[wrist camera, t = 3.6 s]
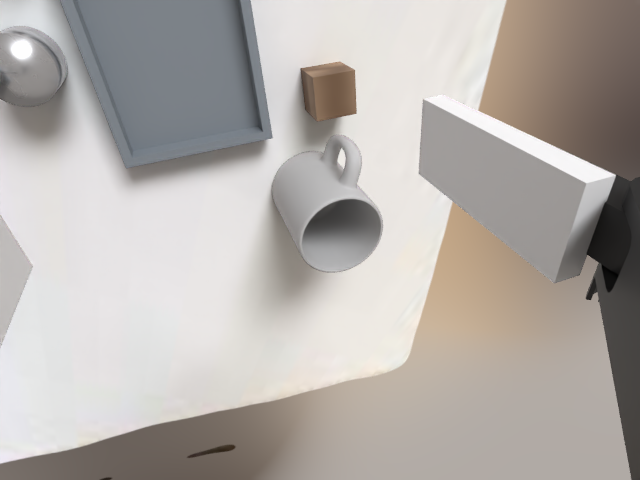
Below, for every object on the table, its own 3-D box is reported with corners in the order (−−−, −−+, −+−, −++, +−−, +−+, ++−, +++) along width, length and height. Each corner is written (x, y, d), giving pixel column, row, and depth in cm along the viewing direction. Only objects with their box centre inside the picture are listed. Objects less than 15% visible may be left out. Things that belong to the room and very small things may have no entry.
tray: (127, 158, 39) (126, 168, 37) (44, -57, 30) (37, -58, 28) (267, 130, 42) (272, 138, 40) (233, -75, 32) (237, -77, 31)
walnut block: (305, 109, 42) (317, 121, 39) (300, 68, 40) (312, 77, 37) (341, 102, 43) (356, 113, 40) (339, 61, 41) (354, 70, 38)
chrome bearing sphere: (12, 98, 34) (-2, 112, 31) (-22, 30, 31) (-42, 38, 28) (77, 87, 35) (70, 100, 32) (50, 21, 32) (39, 28, 29)
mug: (331, 221, 51) (367, 275, 42) (264, 215, 47) (288, 272, 39) (362, 126, 45) (411, 165, 37) (288, 111, 42) (323, 151, 33)
